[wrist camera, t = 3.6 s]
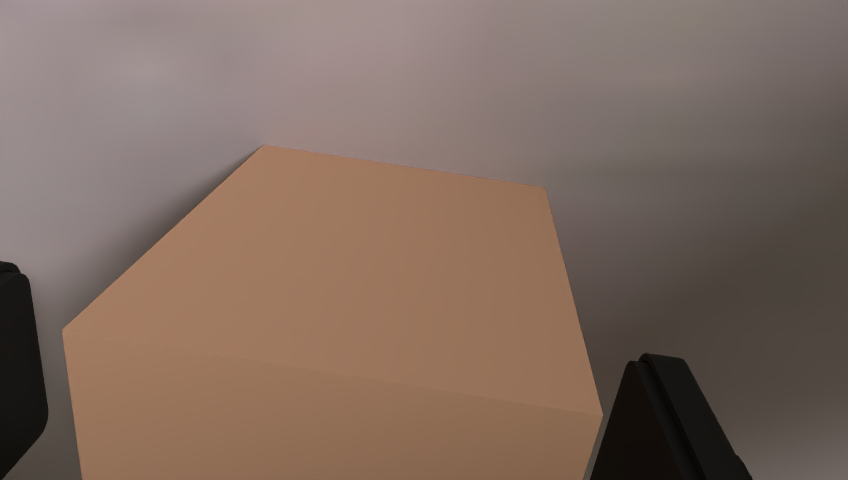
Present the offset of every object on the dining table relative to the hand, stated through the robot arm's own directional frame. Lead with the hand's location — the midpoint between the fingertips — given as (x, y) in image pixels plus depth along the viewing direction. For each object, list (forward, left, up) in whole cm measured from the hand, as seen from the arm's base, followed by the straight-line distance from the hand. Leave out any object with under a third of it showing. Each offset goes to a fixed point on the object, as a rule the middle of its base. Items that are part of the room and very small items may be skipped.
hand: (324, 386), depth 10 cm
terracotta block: (0, +1, -3) cm, 3 cm away
